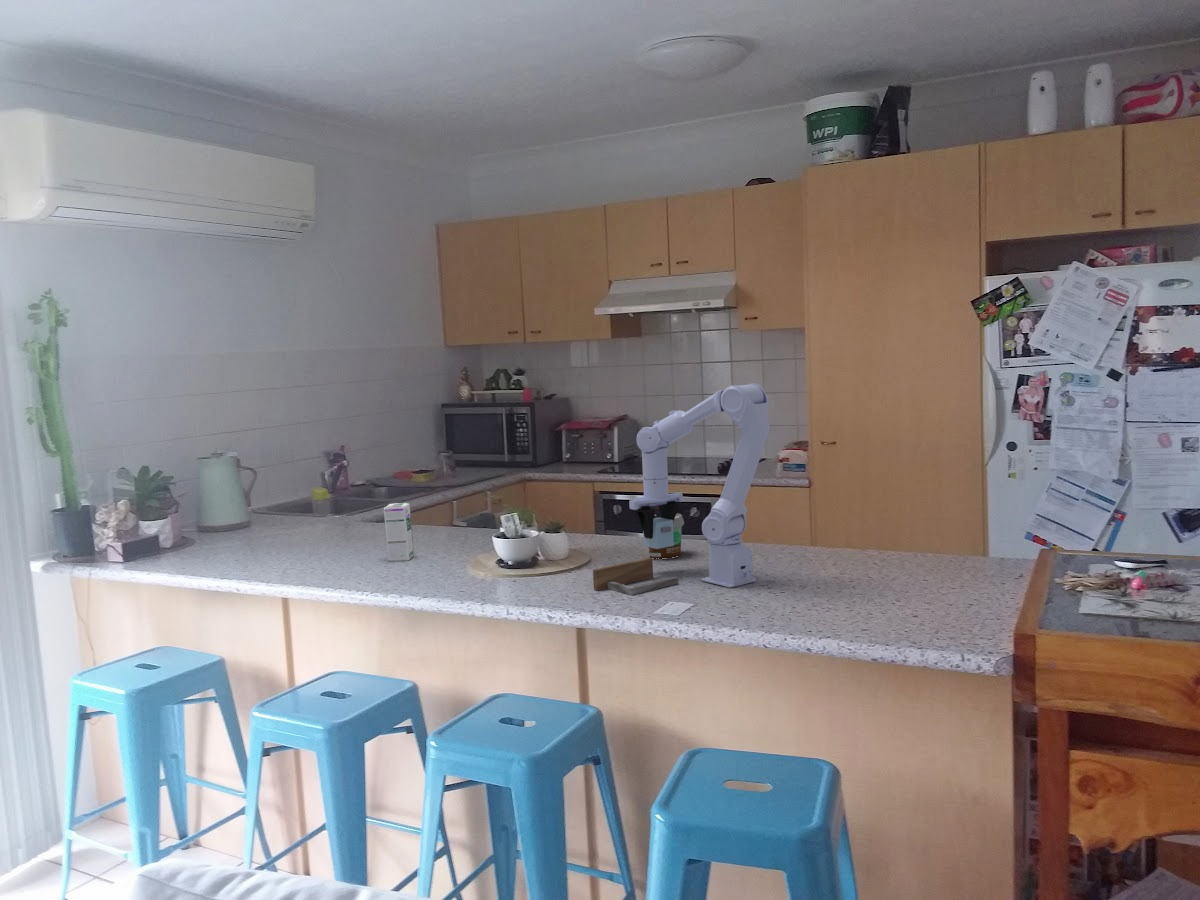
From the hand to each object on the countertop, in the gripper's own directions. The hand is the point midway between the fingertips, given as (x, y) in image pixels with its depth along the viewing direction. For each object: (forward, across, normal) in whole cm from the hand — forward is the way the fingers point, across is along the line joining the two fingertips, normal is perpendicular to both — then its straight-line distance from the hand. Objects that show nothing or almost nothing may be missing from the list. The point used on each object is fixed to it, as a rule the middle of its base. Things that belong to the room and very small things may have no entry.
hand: (657, 536), depth 221 cm
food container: (+9, -13, -11) cm, 19 cm away
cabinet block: (+2, 0, 0) cm, 2 cm away
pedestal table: (+9, +12, +6) cm, 16 cm away
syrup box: (+9, +36, -63) cm, 73 cm away
